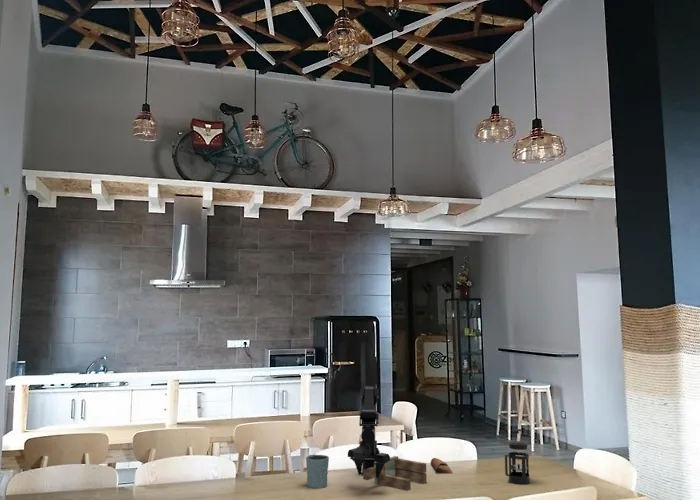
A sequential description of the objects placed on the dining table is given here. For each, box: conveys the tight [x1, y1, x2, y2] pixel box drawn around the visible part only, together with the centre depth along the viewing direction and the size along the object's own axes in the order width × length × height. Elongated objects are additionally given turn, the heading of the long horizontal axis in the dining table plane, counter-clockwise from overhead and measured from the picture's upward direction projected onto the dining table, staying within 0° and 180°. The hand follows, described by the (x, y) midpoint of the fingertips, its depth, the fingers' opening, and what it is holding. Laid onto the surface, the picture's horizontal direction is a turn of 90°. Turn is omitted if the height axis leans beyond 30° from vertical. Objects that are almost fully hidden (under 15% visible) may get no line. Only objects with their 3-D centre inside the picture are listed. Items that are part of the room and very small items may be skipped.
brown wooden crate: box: [373, 455, 428, 491], centre depth 249 cm, size 17×16×9 cm
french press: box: [504, 428, 531, 486], centre depth 253 cm, size 12×9×23 cm
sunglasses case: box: [430, 457, 454, 475], centre depth 273 cm, size 18×7×7 cm, turn 1°
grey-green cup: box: [305, 454, 330, 489], centre depth 244 cm, size 10×10×12 cm
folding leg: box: [362, 464, 386, 481], centre depth 242 cm, size 14×2×4 cm, turn 141°
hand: (368, 476), depth 238 cm, fingers open, 9 cm apart
